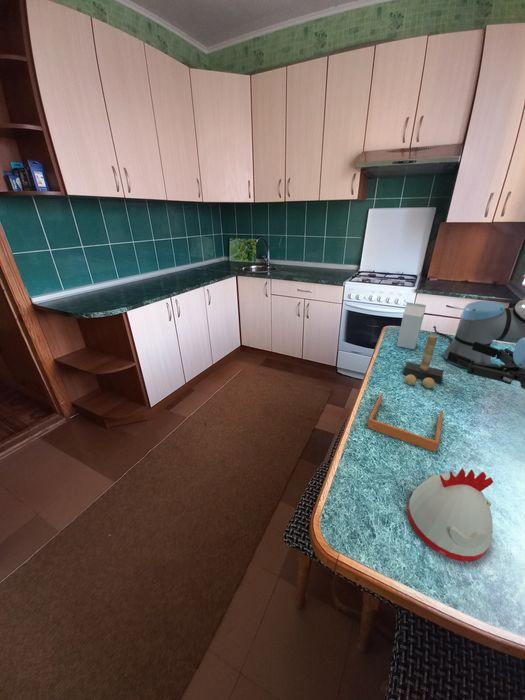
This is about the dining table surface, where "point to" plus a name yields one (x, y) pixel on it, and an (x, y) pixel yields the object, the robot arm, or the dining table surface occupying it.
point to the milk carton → (411, 325)
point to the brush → (425, 363)
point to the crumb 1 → (410, 379)
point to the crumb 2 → (428, 382)
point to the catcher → (404, 434)
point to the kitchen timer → (453, 514)
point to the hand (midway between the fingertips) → (461, 350)
